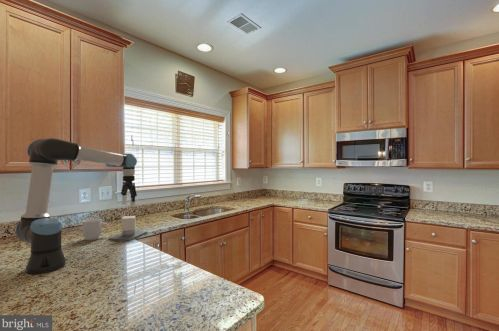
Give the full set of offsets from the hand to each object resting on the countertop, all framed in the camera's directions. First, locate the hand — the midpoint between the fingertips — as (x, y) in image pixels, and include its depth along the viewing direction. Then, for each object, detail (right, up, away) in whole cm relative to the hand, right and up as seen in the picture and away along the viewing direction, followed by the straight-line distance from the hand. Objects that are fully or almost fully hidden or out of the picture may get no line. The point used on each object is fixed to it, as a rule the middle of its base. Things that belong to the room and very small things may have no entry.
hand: (128, 205), depth 174 cm
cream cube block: (0, -17, 0) cm, 17 cm away
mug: (-20, -22, -6) cm, 31 cm away
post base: (0, -22, 0) cm, 22 cm away
